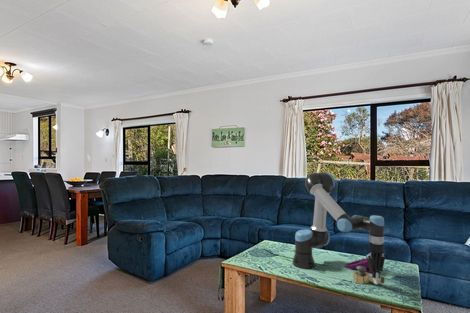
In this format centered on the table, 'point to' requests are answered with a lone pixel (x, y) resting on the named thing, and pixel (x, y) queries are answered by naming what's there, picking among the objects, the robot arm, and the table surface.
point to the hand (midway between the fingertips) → (375, 283)
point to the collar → (365, 278)
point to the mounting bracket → (359, 263)
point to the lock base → (363, 271)
